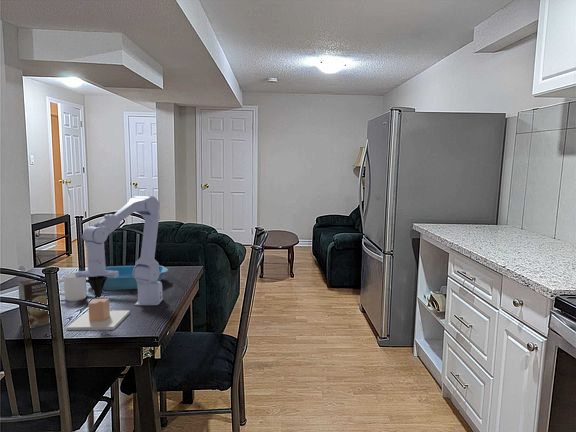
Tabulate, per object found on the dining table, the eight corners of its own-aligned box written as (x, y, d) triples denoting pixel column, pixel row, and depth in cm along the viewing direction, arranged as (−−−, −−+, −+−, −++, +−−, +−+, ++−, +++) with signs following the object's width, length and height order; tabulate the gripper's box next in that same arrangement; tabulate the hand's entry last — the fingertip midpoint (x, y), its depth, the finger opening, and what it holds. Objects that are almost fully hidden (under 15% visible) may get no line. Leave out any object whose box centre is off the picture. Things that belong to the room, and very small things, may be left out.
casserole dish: (170, 276, 210) (170, 263, 209) (165, 289, 188) (164, 274, 187) (94, 280, 204) (93, 266, 203) (79, 294, 182) (78, 278, 181)
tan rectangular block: (109, 315, 152) (108, 298, 151) (104, 321, 147) (103, 303, 146) (95, 315, 152) (94, 298, 151) (89, 321, 147) (88, 303, 146)
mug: (52, 302, 170) (50, 278, 168) (59, 296, 178) (57, 273, 176) (83, 300, 172) (82, 276, 171) (89, 294, 180) (87, 271, 179)
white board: (129, 312, 158) (129, 297, 157) (113, 329, 142) (112, 312, 141) (87, 313, 157) (86, 298, 157) (66, 330, 142) (65, 313, 141)
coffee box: (27, 330, 142) (23, 285, 140) (20, 325, 146) (16, 281, 144) (55, 322, 149) (52, 279, 147) (48, 318, 153) (45, 276, 151)
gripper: (70, 262, 143) (72, 300, 144) (112, 262, 143) (114, 299, 145) (79, 258, 150) (82, 294, 151) (120, 257, 150) (122, 293, 152)
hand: (98, 296), depth 149 cm, fingers closed
